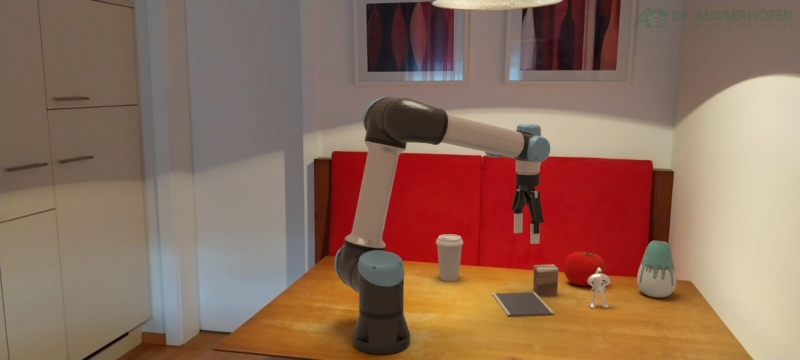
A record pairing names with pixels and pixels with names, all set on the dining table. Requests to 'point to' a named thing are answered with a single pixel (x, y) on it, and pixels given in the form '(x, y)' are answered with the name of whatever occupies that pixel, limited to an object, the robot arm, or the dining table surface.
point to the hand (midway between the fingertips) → (526, 238)
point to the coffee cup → (449, 256)
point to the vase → (657, 270)
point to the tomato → (582, 267)
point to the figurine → (598, 286)
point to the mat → (522, 304)
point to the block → (545, 280)
